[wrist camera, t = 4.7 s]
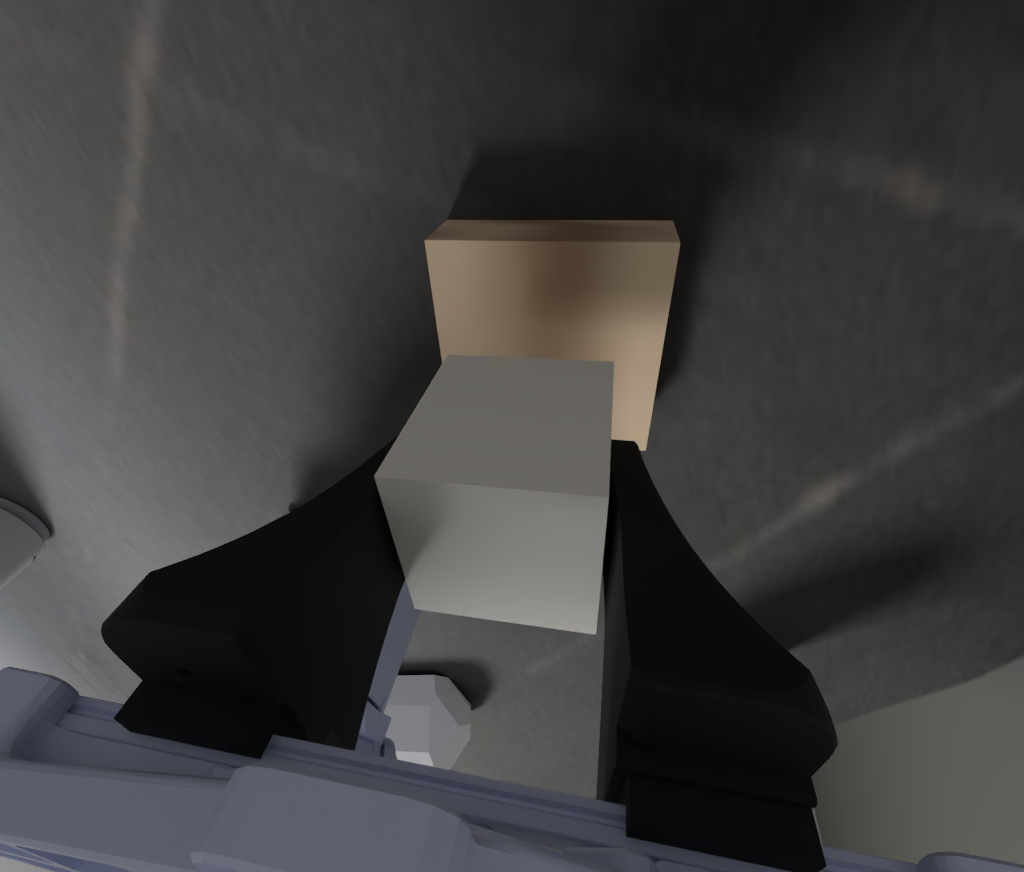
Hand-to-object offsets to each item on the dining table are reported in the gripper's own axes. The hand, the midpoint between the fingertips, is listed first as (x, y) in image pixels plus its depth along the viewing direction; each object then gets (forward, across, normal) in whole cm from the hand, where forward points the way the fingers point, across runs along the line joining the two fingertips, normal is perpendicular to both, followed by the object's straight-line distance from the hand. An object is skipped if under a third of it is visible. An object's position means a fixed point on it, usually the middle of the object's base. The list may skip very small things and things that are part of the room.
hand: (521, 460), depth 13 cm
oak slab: (+9, 0, 0) cm, 9 cm away
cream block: (+2, 0, 0) cm, 2 cm away
